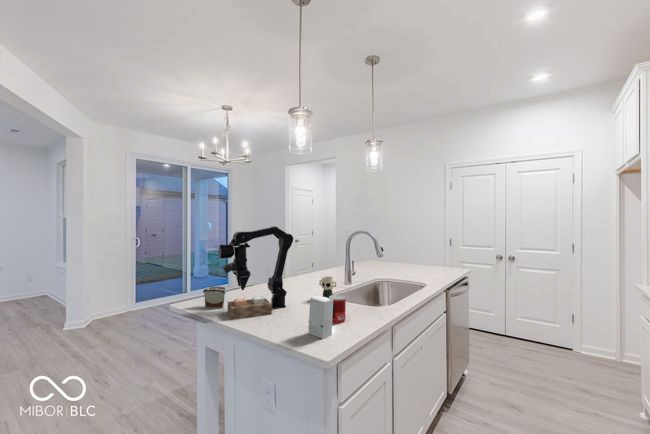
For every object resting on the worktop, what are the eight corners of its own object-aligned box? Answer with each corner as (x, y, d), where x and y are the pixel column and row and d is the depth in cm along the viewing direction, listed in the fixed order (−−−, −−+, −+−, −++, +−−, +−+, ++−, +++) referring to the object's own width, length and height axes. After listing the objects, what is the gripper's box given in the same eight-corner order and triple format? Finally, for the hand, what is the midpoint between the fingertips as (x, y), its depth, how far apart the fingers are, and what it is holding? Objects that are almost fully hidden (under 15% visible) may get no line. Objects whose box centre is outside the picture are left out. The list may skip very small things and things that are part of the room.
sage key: (262, 303, 154) (262, 296, 154) (264, 305, 149) (264, 298, 149) (252, 304, 152) (252, 297, 152) (254, 306, 147) (254, 299, 147)
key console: (264, 307, 159) (265, 297, 159) (271, 314, 147) (271, 304, 147) (227, 311, 150) (227, 301, 150) (231, 319, 139) (231, 308, 139)
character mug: (316, 300, 173) (316, 277, 174) (322, 297, 180) (322, 275, 180) (333, 302, 169) (333, 279, 169) (338, 299, 175) (338, 277, 175)
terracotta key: (244, 305, 150) (244, 297, 150) (246, 307, 145) (246, 300, 146) (234, 306, 148) (234, 299, 148) (235, 309, 143) (235, 301, 143)
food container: (230, 305, 162) (230, 286, 162) (225, 308, 156) (225, 289, 156) (208, 304, 163) (208, 286, 164) (202, 307, 157) (202, 288, 157)
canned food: (347, 318, 141) (347, 295, 141) (342, 324, 133) (342, 299, 134) (331, 317, 143) (331, 294, 144) (326, 322, 136) (326, 298, 136)
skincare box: (308, 334, 122) (308, 297, 122) (317, 329, 127) (318, 294, 127) (323, 339, 117) (324, 301, 117) (333, 335, 121) (333, 298, 121)
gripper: (221, 255, 154) (222, 286, 155) (225, 260, 138) (226, 294, 138) (243, 254, 159) (244, 283, 159) (250, 258, 142) (251, 291, 142)
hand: (241, 287), depth 150 cm, fingers open, 9 cm apart
